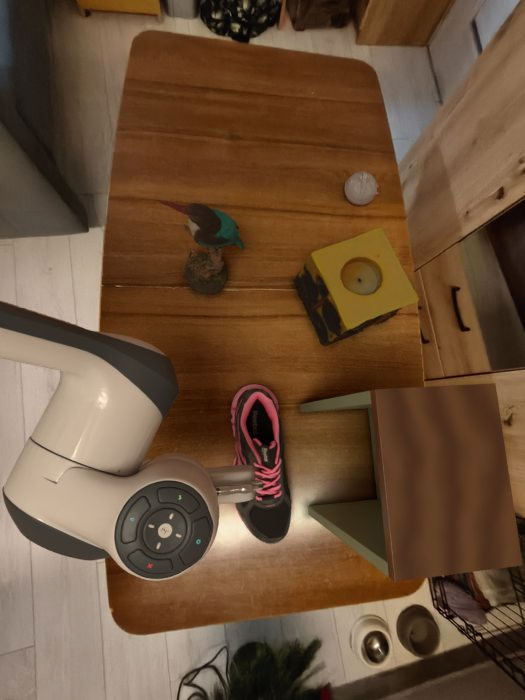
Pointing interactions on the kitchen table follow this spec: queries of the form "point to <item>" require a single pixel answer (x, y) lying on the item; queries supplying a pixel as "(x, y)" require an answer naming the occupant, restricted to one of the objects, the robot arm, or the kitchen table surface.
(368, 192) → the garlic bulb
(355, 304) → the candle
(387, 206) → the kitchen table surface
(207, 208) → the sculpture
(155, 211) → the kitchen table surface
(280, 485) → the running shoe
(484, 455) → the board
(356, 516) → the dark grey angular piece
